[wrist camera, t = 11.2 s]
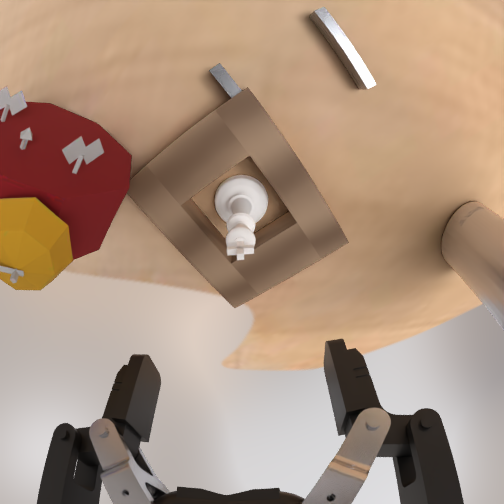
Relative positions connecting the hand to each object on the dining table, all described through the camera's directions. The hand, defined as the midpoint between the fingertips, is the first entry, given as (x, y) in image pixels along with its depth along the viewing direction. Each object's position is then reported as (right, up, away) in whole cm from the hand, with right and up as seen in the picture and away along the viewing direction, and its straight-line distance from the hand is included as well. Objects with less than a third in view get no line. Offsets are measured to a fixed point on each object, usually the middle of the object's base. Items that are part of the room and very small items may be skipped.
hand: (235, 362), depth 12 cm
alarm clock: (-15, +16, +10) cm, 24 cm away
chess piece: (0, +10, +14) cm, 17 cm away
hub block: (0, +10, +14) cm, 17 cm away
